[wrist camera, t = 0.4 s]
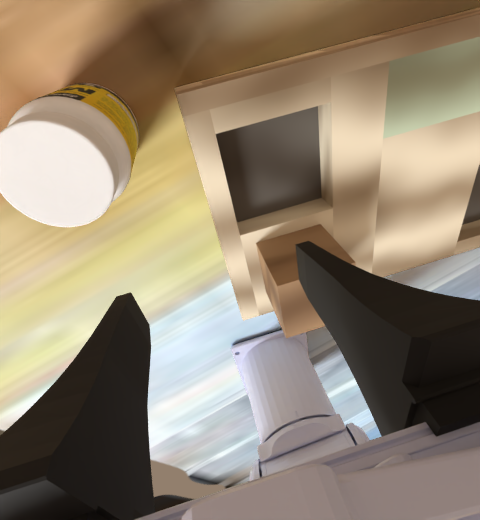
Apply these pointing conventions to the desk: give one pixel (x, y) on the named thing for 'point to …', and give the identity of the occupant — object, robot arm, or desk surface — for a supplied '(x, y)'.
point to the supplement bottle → (68, 155)
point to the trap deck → (345, 150)
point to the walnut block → (293, 277)
